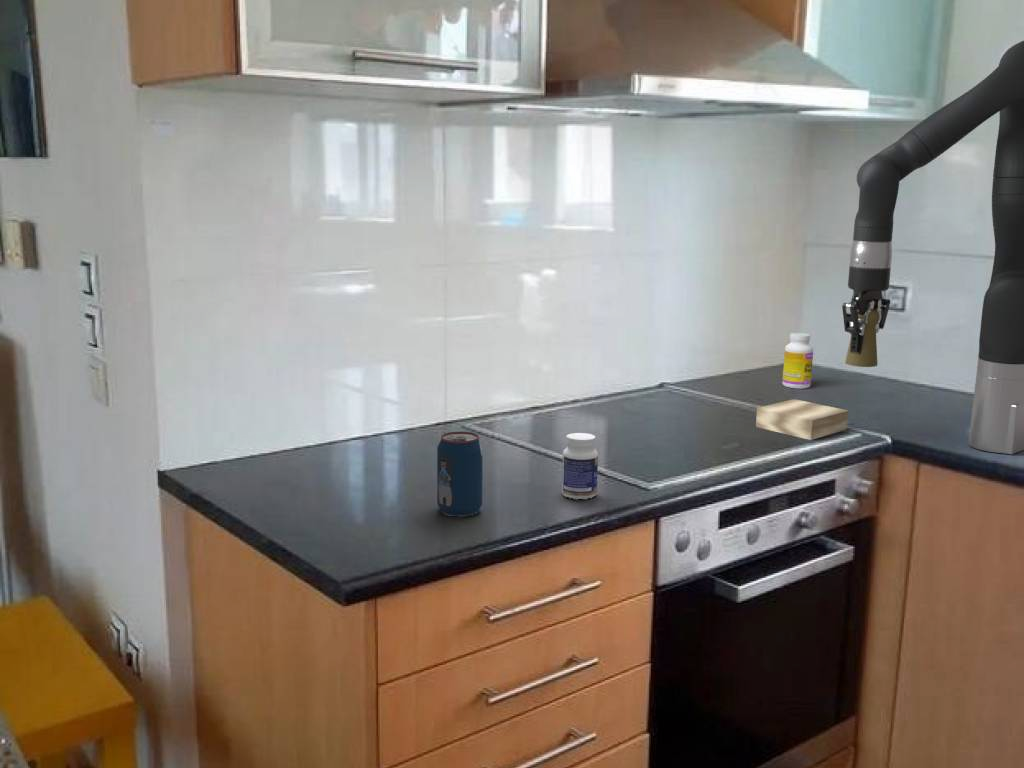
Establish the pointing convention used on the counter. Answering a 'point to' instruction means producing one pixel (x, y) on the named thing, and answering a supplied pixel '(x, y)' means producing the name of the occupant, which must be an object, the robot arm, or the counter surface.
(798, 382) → the supplement bottle
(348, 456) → the counter surface
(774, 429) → the block
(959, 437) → the counter surface
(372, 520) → the counter surface
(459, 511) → the soda can
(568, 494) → the pill bottle
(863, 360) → the cork
